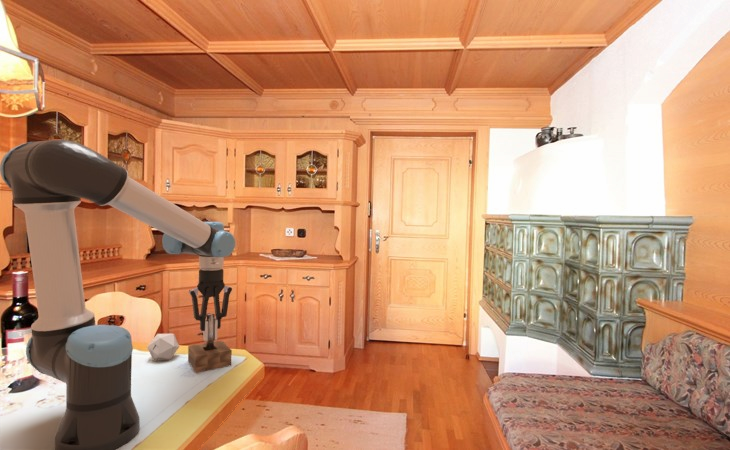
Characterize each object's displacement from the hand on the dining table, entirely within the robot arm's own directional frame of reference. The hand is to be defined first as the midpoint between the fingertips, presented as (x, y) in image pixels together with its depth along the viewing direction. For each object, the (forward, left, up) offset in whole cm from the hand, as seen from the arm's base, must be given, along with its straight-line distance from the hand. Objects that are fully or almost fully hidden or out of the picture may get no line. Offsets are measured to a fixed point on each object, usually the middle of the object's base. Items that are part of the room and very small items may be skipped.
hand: (210, 339), depth 125 cm
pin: (0, 0, -4) cm, 4 cm away
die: (-12, +12, -8) cm, 19 cm away
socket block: (0, 0, -8) cm, 8 cm away
